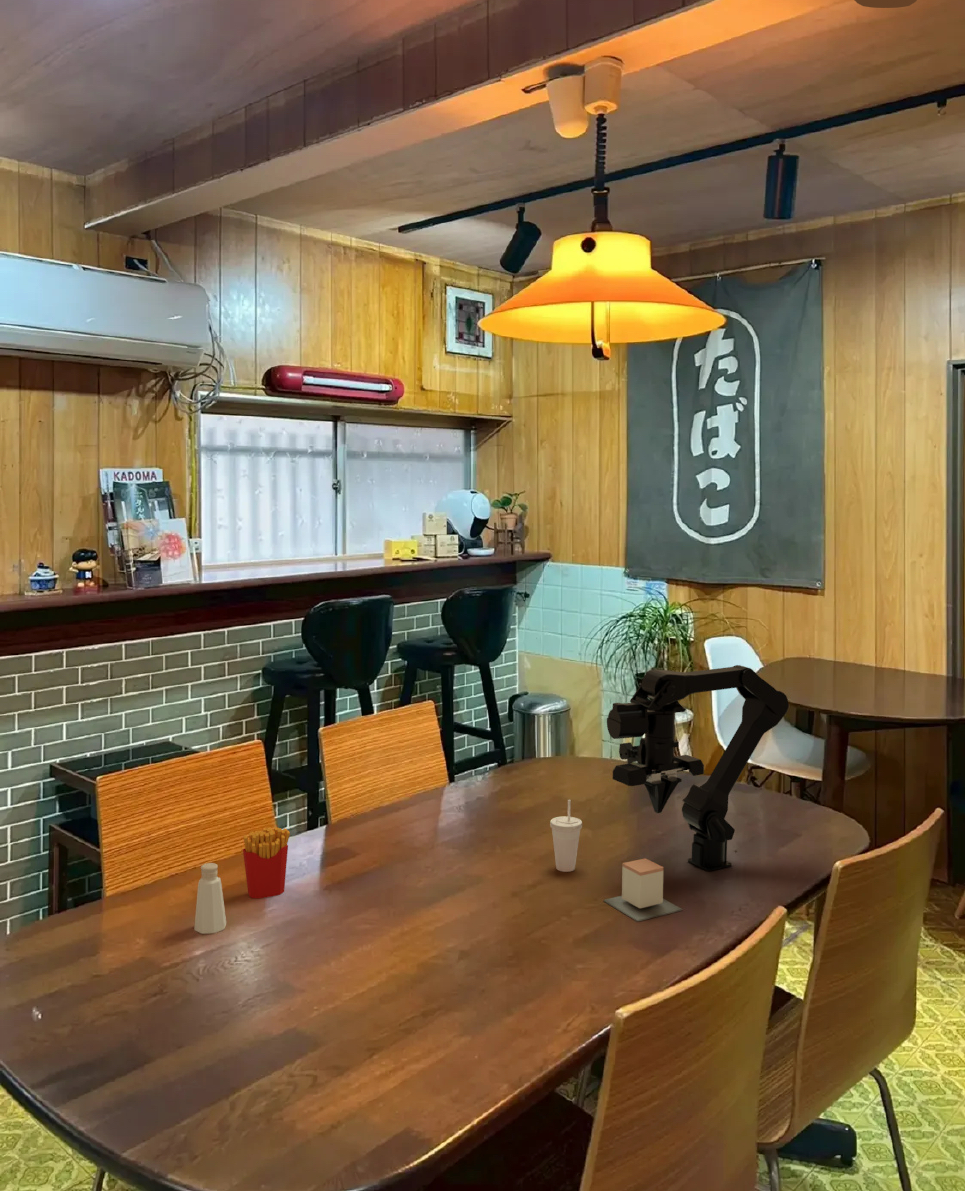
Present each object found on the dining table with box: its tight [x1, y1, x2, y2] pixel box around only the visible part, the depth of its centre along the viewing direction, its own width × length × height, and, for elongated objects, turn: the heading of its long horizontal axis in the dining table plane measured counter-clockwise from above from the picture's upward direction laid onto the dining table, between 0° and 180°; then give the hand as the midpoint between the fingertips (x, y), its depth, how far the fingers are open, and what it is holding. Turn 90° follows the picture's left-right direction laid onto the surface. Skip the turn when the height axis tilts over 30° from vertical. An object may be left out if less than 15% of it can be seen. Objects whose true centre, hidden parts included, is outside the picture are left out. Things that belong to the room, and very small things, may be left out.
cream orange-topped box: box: [621, 858, 664, 908], centre depth 179 cm, size 5×5×7 cm
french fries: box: [242, 826, 291, 899], centre depth 184 cm, size 8×4×12 cm, turn 118°
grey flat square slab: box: [603, 895, 683, 923], centre depth 179 cm, size 10×10×7 cm
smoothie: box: [549, 799, 583, 873], centre depth 197 cm, size 6×6×14 cm
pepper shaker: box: [193, 862, 227, 935], centre depth 169 cm, size 5×5×11 cm
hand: (657, 812), depth 195 cm, fingers closed
